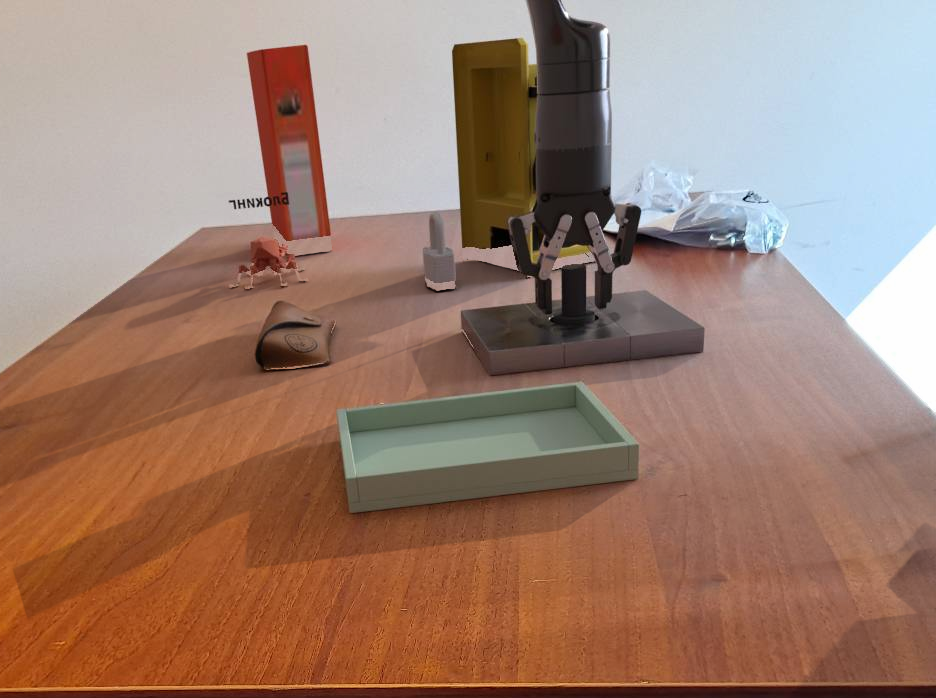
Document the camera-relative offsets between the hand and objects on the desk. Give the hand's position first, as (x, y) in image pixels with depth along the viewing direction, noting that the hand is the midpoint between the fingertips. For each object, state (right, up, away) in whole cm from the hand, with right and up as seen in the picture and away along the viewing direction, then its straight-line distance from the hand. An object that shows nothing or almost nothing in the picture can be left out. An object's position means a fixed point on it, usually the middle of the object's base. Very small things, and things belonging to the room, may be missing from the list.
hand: (573, 309), depth 105 cm
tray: (-13, -18, -26) cm, 34 cm away
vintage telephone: (+2, +16, +40) cm, 43 cm away
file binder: (-36, +27, +70) cm, 83 cm away
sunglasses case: (-30, -2, +9) cm, 32 cm away
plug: (0, -3, +2) cm, 3 cm away
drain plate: (0, -3, +2) cm, 3 cm away
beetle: (-38, +16, +47) cm, 62 cm away
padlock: (-13, +10, +31) cm, 36 cm away
